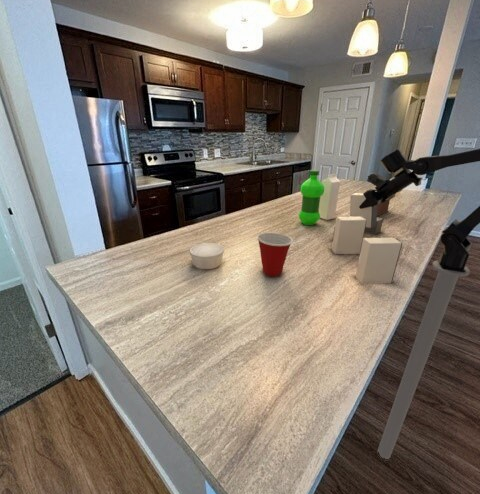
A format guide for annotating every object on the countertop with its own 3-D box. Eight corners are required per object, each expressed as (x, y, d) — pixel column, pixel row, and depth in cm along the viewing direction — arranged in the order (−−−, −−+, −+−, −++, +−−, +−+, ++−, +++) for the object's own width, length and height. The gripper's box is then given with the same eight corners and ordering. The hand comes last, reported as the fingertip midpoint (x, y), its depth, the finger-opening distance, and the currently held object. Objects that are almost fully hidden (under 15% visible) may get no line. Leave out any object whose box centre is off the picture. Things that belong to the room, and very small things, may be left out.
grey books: (380, 231, 117) (383, 218, 115) (353, 247, 101) (356, 232, 98) (360, 226, 123) (363, 214, 121) (332, 240, 107) (334, 226, 105)
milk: (317, 217, 136) (322, 173, 127) (325, 215, 139) (331, 172, 130) (326, 220, 131) (332, 175, 123) (335, 218, 134) (341, 174, 126)
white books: (355, 249, 99) (361, 216, 94) (391, 283, 77) (402, 243, 72) (331, 249, 99) (336, 216, 94) (361, 284, 77) (370, 243, 72)
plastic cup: (297, 275, 81) (301, 239, 77) (268, 284, 76) (271, 247, 72) (276, 261, 90) (278, 228, 85) (249, 268, 85) (250, 234, 80)
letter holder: (387, 211, 146) (393, 185, 141) (372, 218, 134) (378, 191, 128) (369, 207, 153) (374, 183, 148) (354, 214, 141) (358, 188, 135)
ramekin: (187, 258, 91) (186, 245, 89) (218, 254, 95) (218, 240, 93) (194, 274, 82) (193, 259, 80) (228, 268, 85) (228, 253, 83)
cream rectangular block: (376, 225, 107) (377, 193, 103) (371, 227, 105) (372, 195, 101) (354, 222, 114) (355, 193, 110) (349, 225, 112) (350, 194, 108)
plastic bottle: (298, 219, 132) (303, 168, 123) (320, 221, 129) (327, 169, 120) (295, 225, 124) (300, 171, 114) (318, 228, 120) (326, 172, 111)
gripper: (393, 163, 103) (360, 187, 115) (373, 168, 91) (339, 194, 103) (411, 186, 101) (375, 208, 112) (393, 194, 89) (355, 217, 101)
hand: (362, 206), depth 107 cm, fingers closed on cream rectangular block, 4 cm apart
